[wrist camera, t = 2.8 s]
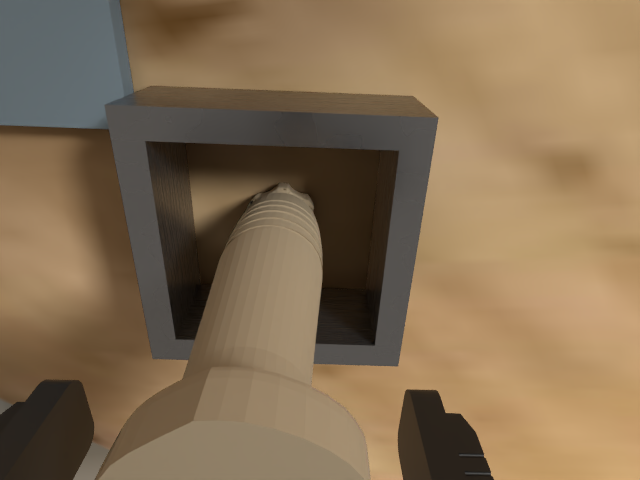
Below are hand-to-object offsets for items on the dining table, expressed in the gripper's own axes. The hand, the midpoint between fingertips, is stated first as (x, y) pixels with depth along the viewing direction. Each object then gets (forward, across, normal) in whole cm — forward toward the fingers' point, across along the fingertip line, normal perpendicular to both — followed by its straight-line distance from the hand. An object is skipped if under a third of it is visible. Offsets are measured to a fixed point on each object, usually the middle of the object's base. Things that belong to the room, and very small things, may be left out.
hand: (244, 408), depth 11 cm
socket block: (+12, 0, 0) cm, 12 cm away
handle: (+12, 0, 0) cm, 12 cm away
